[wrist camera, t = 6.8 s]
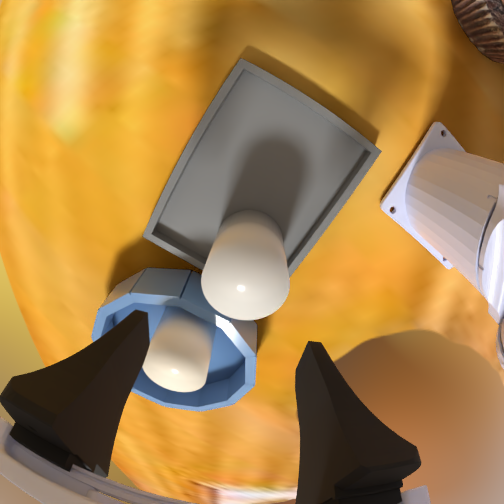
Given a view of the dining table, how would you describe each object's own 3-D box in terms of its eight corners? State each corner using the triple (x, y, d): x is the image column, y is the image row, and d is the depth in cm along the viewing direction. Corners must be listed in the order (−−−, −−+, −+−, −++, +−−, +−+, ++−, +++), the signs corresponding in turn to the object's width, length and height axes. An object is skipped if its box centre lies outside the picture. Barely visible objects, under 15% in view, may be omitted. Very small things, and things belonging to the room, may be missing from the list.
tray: (374, 149, 16) (381, 151, 15) (267, 294, 21) (267, 304, 20) (242, 62, 14) (240, 57, 13) (149, 229, 19) (142, 236, 18)
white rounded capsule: (214, 300, 21) (202, 352, 16) (218, 342, 23) (209, 394, 18) (159, 297, 21) (134, 345, 16) (168, 339, 23) (150, 387, 18)
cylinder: (295, 231, 19) (307, 273, 14) (260, 280, 20) (259, 331, 15) (237, 197, 18) (228, 228, 13) (205, 250, 19) (187, 295, 14)
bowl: (288, 320, 22) (291, 350, 19) (213, 398, 28) (209, 424, 24) (134, 237, 20) (113, 258, 16) (98, 342, 25) (85, 365, 22)
